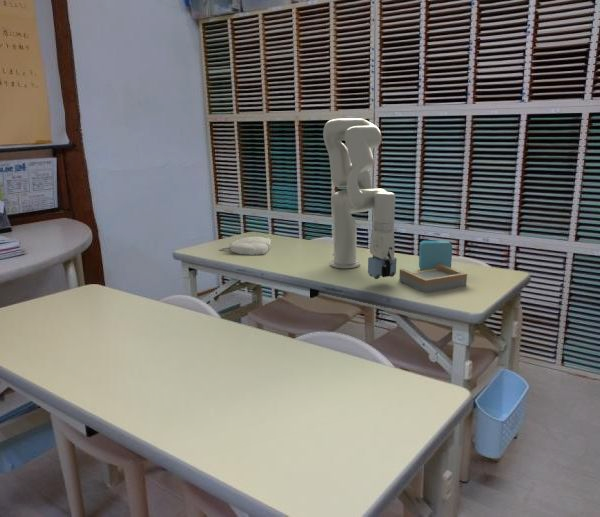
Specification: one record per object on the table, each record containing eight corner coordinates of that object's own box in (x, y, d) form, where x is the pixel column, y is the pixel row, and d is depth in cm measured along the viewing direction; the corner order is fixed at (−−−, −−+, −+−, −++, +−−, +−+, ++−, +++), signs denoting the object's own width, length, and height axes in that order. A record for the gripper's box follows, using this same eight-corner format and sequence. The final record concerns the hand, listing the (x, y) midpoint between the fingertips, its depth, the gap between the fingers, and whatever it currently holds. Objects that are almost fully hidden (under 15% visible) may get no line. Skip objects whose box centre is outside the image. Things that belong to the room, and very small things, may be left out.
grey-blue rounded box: (367, 275, 185) (367, 257, 183) (388, 272, 189) (388, 254, 187) (375, 280, 180) (375, 261, 178) (396, 277, 184) (397, 258, 182)
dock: (399, 280, 188) (399, 269, 187) (438, 274, 195) (438, 263, 194) (425, 292, 174) (425, 280, 173) (466, 285, 181) (467, 273, 180)
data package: (448, 269, 202) (450, 240, 199) (451, 272, 198) (452, 242, 195) (418, 269, 203) (419, 240, 200) (420, 272, 199) (421, 243, 196)
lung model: (266, 255, 230) (214, 259, 234) (273, 247, 247) (224, 251, 251) (264, 241, 229) (212, 246, 233) (271, 234, 245) (223, 238, 249)
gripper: (362, 222, 185) (361, 269, 191) (387, 232, 170) (385, 282, 175) (380, 221, 188) (378, 266, 193) (405, 230, 173) (403, 279, 178)
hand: (381, 273), depth 184 cm, fingers closed on grey-blue rounded box, 5 cm apart
